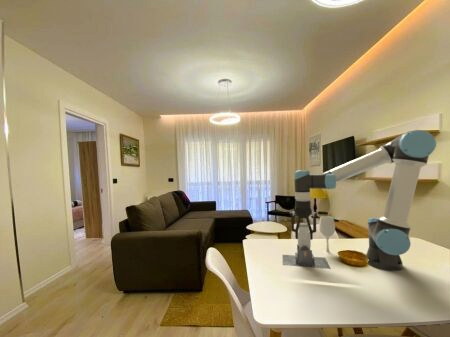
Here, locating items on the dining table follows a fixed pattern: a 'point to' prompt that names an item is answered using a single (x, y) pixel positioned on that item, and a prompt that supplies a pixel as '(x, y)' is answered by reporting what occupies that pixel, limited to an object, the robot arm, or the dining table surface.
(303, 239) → the column
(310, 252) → the stand base
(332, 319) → the dining table surface
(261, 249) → the dining table surface
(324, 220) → the wineglass
